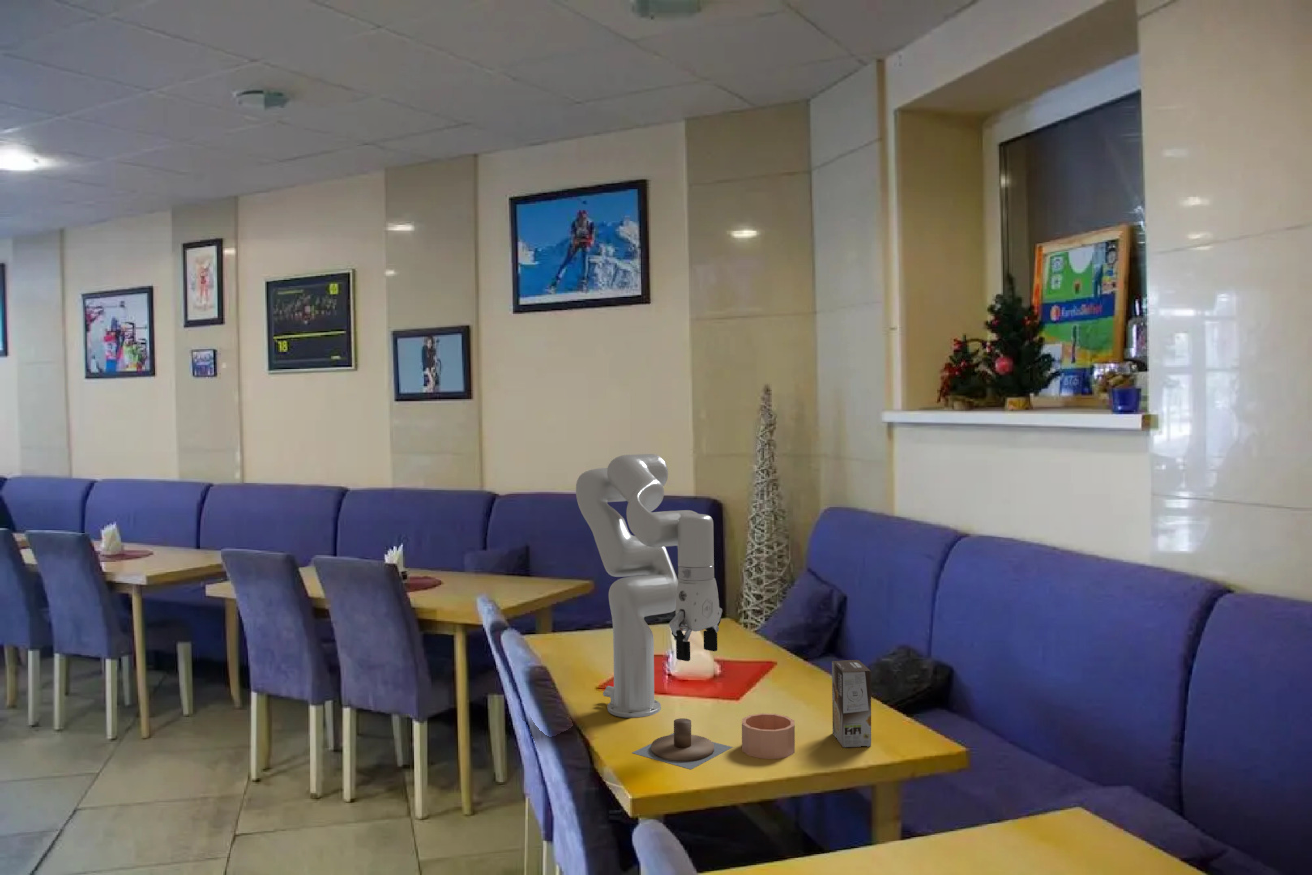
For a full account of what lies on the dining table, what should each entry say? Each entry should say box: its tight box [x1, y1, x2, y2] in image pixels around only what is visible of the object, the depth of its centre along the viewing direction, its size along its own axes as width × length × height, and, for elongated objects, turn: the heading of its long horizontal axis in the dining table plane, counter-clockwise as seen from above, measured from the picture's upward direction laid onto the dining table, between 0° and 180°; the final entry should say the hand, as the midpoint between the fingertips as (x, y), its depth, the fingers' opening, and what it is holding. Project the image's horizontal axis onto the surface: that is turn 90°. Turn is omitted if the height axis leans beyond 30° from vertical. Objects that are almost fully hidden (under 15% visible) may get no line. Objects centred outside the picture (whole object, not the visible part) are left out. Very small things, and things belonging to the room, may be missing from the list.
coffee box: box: [831, 659, 872, 748], centre depth 201 cm, size 9×6×16 cm
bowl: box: [741, 712, 796, 760], centre depth 195 cm, size 11×11×6 cm
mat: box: [631, 732, 733, 770], centre depth 195 cm, size 15×15×1 cm
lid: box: [650, 718, 714, 762], centre depth 195 cm, size 13×13×6 cm
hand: (697, 655), depth 197 cm, fingers open, 9 cm apart
